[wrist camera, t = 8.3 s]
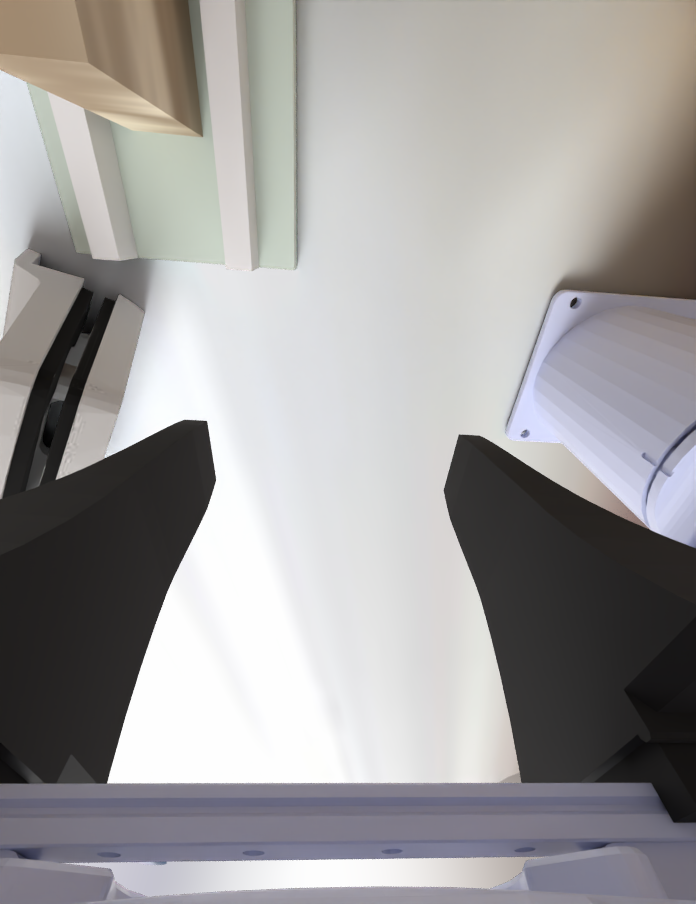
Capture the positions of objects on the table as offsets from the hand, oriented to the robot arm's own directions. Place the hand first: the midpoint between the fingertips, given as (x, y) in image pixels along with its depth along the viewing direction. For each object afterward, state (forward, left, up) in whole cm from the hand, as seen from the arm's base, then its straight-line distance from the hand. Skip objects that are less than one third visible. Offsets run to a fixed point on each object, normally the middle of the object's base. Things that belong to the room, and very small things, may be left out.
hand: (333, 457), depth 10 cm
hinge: (+14, +5, -10) cm, 18 cm away
